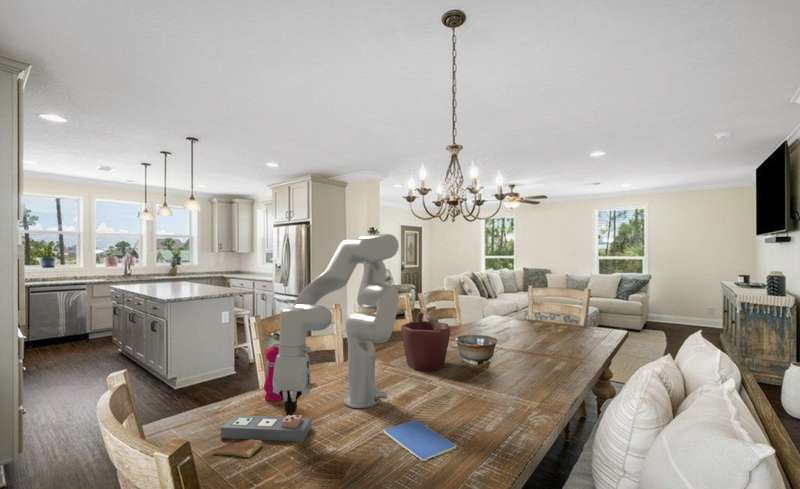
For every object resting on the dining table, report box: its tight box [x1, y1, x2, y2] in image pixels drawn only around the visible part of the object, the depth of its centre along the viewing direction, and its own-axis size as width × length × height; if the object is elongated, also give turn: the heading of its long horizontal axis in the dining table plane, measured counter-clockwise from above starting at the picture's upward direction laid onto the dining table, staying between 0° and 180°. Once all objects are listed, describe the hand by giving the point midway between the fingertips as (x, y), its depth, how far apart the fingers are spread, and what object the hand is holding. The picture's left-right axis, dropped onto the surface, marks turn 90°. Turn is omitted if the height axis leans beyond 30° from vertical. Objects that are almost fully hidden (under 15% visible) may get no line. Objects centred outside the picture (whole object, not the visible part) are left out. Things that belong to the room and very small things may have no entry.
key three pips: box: [282, 414, 303, 428], centre depth 110 cm, size 4×4×2 cm
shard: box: [211, 439, 263, 458], centre depth 102 cm, size 11×8×2 cm
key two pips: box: [232, 418, 253, 426], centre depth 111 cm, size 4×4×2 cm
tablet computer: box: [382, 419, 458, 461], centre depth 107 cm, size 19×13×1 cm, turn 35°
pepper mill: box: [263, 342, 283, 402], centre depth 136 cm, size 7×7×20 cm
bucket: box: [400, 310, 451, 372], centre depth 175 cm, size 24×22×25 cm
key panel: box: [220, 414, 313, 443], centre depth 111 cm, size 24×8×3 cm, turn 86°
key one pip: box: [257, 419, 278, 427], centre depth 111 cm, size 4×4×2 cm
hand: (290, 413), depth 110 cm, fingers closed
